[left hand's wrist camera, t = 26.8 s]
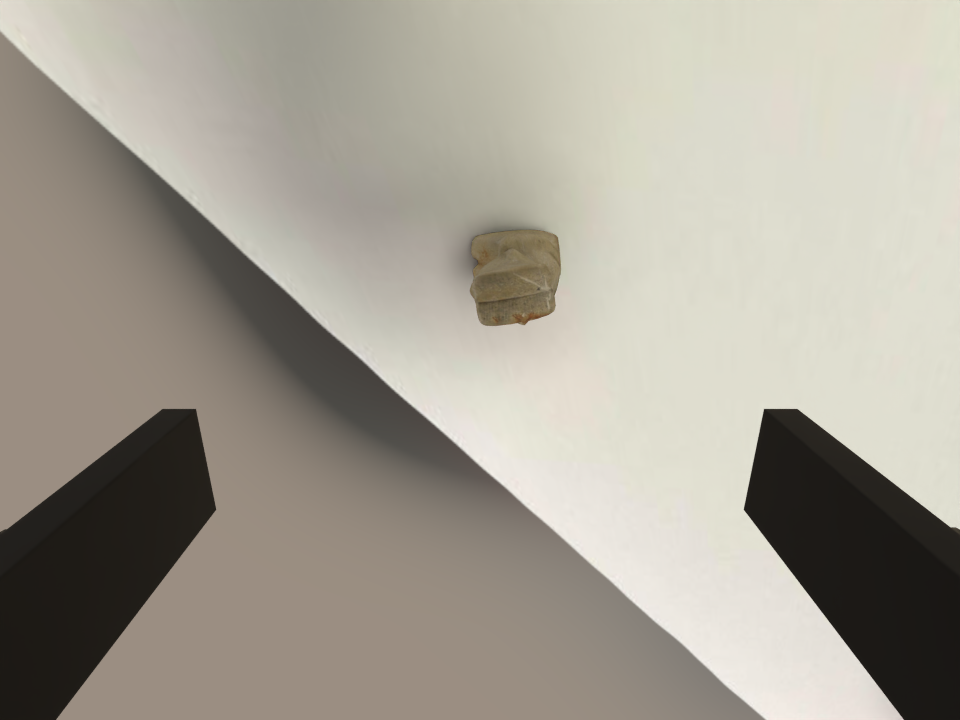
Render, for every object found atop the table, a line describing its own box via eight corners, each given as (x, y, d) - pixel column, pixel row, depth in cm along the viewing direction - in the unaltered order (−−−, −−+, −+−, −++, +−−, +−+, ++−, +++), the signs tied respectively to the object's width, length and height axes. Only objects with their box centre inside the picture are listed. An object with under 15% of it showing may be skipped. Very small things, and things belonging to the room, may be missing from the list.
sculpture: (468, 223, 45) (463, 250, 31) (553, 216, 45) (587, 240, 31) (475, 291, 47) (472, 344, 33) (556, 284, 47) (588, 335, 33)
